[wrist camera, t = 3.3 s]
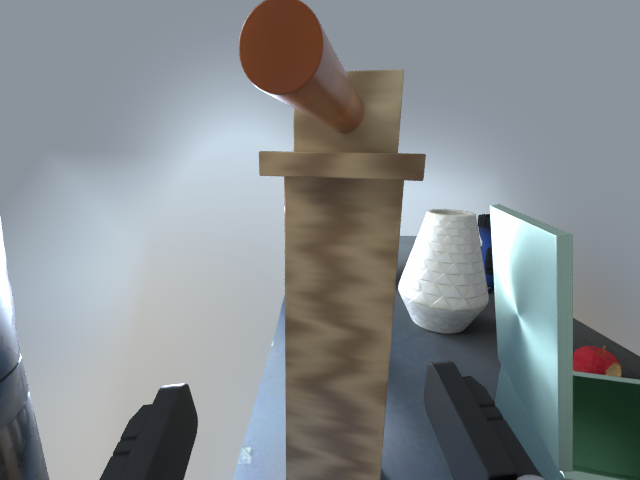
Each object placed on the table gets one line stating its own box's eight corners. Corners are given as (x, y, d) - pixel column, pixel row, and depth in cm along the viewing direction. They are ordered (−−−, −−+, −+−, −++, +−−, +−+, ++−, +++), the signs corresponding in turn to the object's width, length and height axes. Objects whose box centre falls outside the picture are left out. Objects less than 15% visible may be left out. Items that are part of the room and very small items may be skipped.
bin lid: (499, 204, 32) (489, 205, 32) (573, 234, 19) (556, 236, 19) (506, 357, 35) (497, 357, 35) (573, 472, 22) (559, 471, 22)
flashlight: (461, 289, 86) (471, 214, 81) (483, 285, 89) (494, 212, 85) (487, 301, 79) (500, 219, 74) (510, 296, 82) (523, 217, 77)
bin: (643, 479, 35) (673, 383, 32) (789, 665, 22) (862, 533, 19) (486, 450, 38) (501, 361, 35) (534, 599, 25) (564, 477, 22)
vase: (433, 297, 81) (443, 204, 75) (502, 328, 66) (521, 216, 61) (378, 313, 72) (386, 208, 66) (444, 353, 57) (461, 223, 52)
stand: (268, 546, 28) (258, 151, 20) (303, 435, 40) (306, 154, 32) (385, 578, 26) (426, 153, 18) (387, 452, 38) (412, 156, 30)
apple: (623, 383, 50) (634, 345, 49) (627, 413, 44) (639, 371, 43) (560, 362, 55) (567, 327, 54) (555, 387, 49) (564, 348, 48)
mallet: (171, 142, 10) (155, -50, 9) (313, 154, 28) (314, 91, 27) (405, 145, 9) (424, -83, 7) (396, 155, 27) (401, 89, 26)
